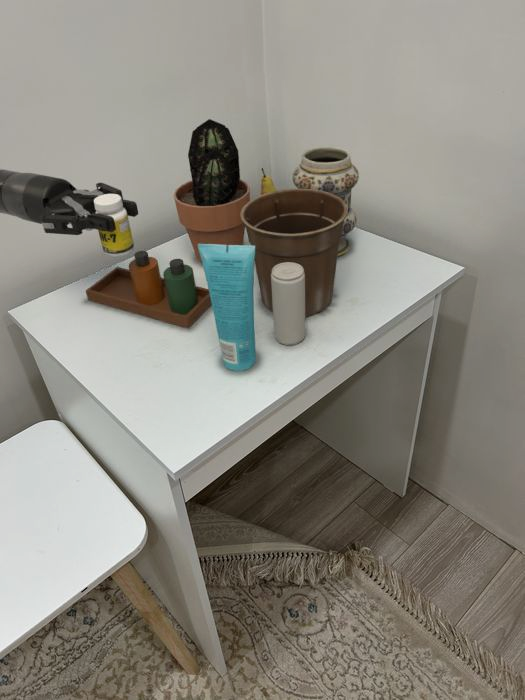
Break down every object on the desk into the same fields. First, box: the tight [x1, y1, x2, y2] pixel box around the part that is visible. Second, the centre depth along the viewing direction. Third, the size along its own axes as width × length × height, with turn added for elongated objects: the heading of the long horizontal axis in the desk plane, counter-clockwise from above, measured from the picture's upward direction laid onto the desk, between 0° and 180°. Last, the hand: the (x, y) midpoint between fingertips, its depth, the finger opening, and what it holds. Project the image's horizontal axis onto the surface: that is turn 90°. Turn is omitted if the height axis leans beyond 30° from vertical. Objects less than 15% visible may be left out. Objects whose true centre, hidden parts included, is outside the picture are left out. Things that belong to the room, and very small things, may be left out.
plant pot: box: [241, 188, 348, 317], centre depth 88 cm, size 16×16×16 cm
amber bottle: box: [128, 250, 165, 305], centre depth 92 cm, size 5×5×9 cm
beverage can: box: [271, 262, 306, 346], centre depth 81 cm, size 5×5×12 cm
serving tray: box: [85, 266, 212, 330], centre depth 94 cm, size 21×9×2 cm, turn 63°
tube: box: [198, 244, 257, 372], centre depth 75 cm, size 7×5×19 cm, turn 85°
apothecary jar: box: [291, 146, 360, 258], centre depth 100 cm, size 12×12×18 cm
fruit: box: [260, 167, 277, 195], centre depth 113 cm, size 6×6×12 cm
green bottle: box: [162, 258, 198, 315], centre depth 89 cm, size 5×5×9 cm
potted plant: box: [173, 118, 251, 265], centre depth 98 cm, size 14×14×25 cm
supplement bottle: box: [94, 194, 135, 257], centre depth 82 cm, size 5×5×8 cm
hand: (124, 217), depth 80 cm, fingers closed on supplement bottle, 4 cm apart
